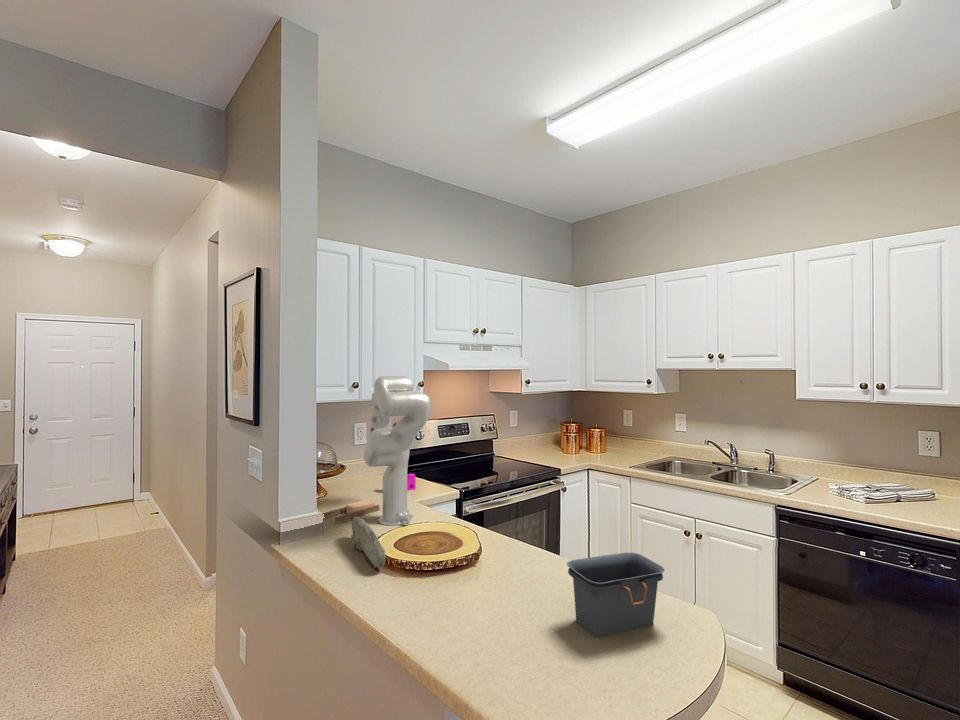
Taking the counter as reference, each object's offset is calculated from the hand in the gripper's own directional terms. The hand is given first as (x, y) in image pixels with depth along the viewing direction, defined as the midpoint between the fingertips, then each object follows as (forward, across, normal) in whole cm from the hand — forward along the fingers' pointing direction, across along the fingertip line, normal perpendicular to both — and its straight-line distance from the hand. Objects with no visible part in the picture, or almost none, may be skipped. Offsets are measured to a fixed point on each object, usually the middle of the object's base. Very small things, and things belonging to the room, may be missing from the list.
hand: (380, 461), depth 215 cm
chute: (+19, -16, 0) cm, 25 cm away
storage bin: (+20, -33, -119) cm, 125 cm away
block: (+20, -11, 0) cm, 23 cm away
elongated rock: (+20, -40, -38) cm, 59 cm away
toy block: (+20, +23, +14) cm, 34 cm away
